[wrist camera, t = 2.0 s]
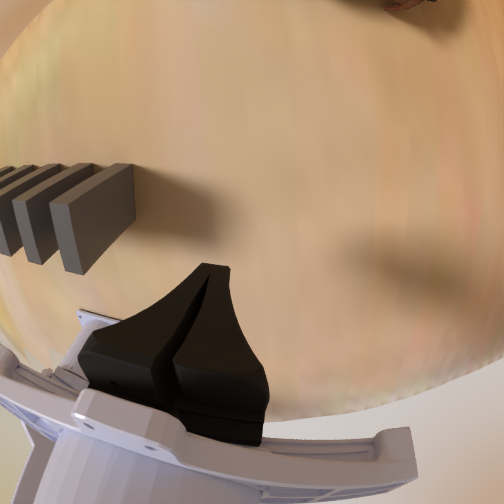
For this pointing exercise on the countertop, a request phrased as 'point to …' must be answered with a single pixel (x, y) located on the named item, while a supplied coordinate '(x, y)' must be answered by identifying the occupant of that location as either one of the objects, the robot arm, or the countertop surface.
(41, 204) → the domino
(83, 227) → the domino
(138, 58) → the countertop surface
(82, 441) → the robot arm
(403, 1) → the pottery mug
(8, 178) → the domino
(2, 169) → the domino
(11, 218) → the domino
